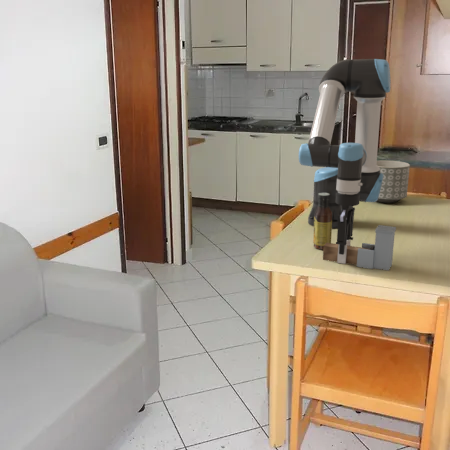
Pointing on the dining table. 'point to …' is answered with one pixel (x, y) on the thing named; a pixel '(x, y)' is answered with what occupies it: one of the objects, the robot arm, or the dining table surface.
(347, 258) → the rail
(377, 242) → the grey notched block
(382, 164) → the planter
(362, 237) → the dining table surface
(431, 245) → the dining table surface
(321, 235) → the sauce bottle
